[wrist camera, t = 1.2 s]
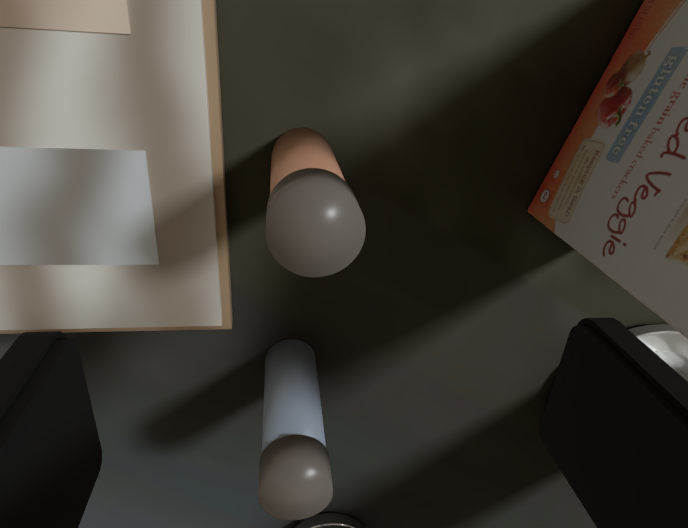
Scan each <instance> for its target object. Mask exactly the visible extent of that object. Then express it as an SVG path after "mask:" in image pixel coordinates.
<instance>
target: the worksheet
mask: <svg viewBox="0 0 688 528" xmlns="http://www.w3.org/2000/svg"><path fill="white" fill-rule="evenodd" d="M232 322H233V320H232V301H231V282H230V263H229V244H228V225H227V206H226V187H225V168H224V149H223V130H222V111H221V92H220V73H219V54H218V35H217V16H216V0H0V334H17V333H25V332H48V331H61V332H110V331H156V330H203V329H232Z"/></svg>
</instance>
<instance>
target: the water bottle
mask: <svg viewBox="0 0 688 528" xmlns="http://www.w3.org/2000/svg"><path fill="white" fill-rule="evenodd" d="M293 528H363V526H362V525H361V524H360V523H359V522H358V521H357V520H356V519H354V518H353V517H351V516H348V515H345V514H341V513H322V514H317V515H314V516H311V517H309V518H306V519H304V520H302V521H301V522H299V523H298V524H297V525H295V526H294V527H293Z"/></svg>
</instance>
